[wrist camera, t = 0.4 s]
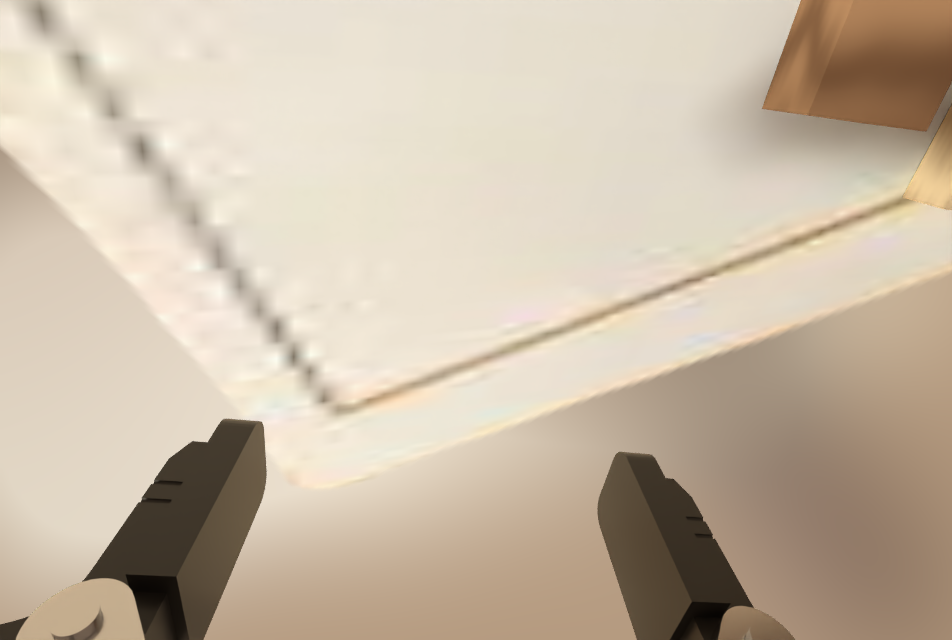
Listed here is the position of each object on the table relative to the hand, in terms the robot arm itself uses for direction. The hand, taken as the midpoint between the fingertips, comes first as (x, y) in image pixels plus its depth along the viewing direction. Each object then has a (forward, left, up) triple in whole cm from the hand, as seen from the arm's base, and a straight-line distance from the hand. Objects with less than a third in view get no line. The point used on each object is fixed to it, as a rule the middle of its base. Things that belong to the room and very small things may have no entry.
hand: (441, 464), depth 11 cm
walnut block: (-12, +25, -27) cm, 39 cm away
